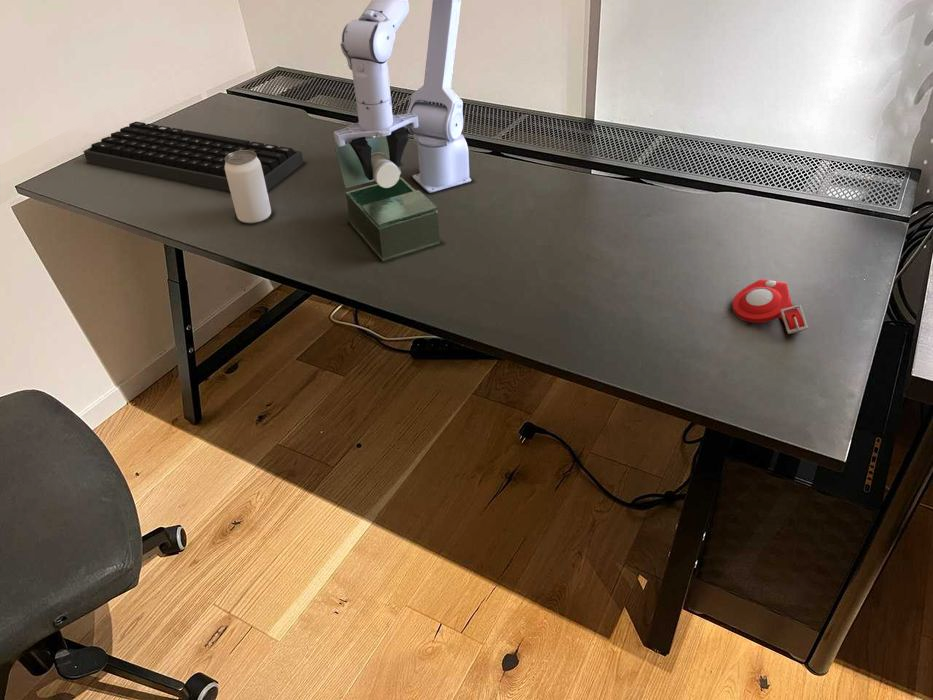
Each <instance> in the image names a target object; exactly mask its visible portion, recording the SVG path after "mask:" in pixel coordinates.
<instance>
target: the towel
mask: <svg viewBox="0 0 933 700" xmlns="http://www.w3.org/2000/svg"><path fill="white" fill-rule="evenodd" d="M371 164H372V170H373V179H374V180H375V181H374V183H375V184H378V185H380V186H381V187H383V188H389V187H392V186H394V185H395V184H396V183H397V181H398V180H399V178H400V177H401V174H400V172H399V169H398V167H397V166H396V165H395V164H394V163H393V162H391V161H390V160H389V159H388V158H387V157H386V156H385V155H384V154H382V153H380V152H375V153H372V154H371Z"/></svg>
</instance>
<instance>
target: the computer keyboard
mask: <svg viewBox="0 0 933 700" xmlns="http://www.w3.org/2000/svg"><path fill="white" fill-rule="evenodd" d="M90 145H91V147H89V148H87V149H85V150H83V154H84V157H85V159H86V161H87V164H92V165H96V166H102V167H106V168H110V169H111V168H112V169H117V170H121V171H126V172H131V173H136V174H142V175H147V176H151V177H157V178H161V179H166V180H171V181H175V182H179V183H185V184H191V185H195V186H200V187H204V188H205V187H206V188H210V189H215V190H221V191H226V192H230V188H229V184H228V180H227V176H226V172H225V162H226V161H225V157H226V156H227V155H228V154H230V153H232V152H235V151H240V150H250V151H253V152H255V153H256V155H257V158H258V159H259V160H260V163H261V166H262V171H263V175H264V180H265V184H266V189H267V192H268V191H270V189H272V188H273V187H274V186H276V185H277V184H278V183H280V182H282V180H284V179H285V178H286V177H288V176H290V174H291V173H293V172H294V171H296V170H297V169H298V168H299V167H301V166H303V164H304V158H303V153H302V151H301V150H295V149H294V148H292V147H287V146H286V147H285V146H278V145H275V144H269V143H266V144H265V143H263V142H258V141H250V140H246V139H242V138H241V139H240V138H235V137H229V136H223V135H217V134H211V133H205V132H200V131H194V130H187V129H185V130H184V129H182V128H177V127H172V128H171V127H170V126H165V125H158V124H153V123H146V122H142V121H133V122H130V123H129V124H128V125H127V126H125V127H124V126H123V127H121V128H119V131H115V132H112V133H110V136H109V135H108V136H106V137H103V138H101V139H100V141H97V142H95V143H92V144H90Z"/></svg>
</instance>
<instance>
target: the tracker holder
mask: <svg viewBox="0 0 933 700" xmlns="http://www.w3.org/2000/svg"><path fill="white" fill-rule="evenodd" d="M789 291H790V290H789V287H788V283H787V282H784V281H778V280H771V279H764V278H760V279H758V280H756V281H754V282H752V283H751V284H749V285H747V286H746V287H744V288H743V289H742V290H740V291H738V292H737V293H736V294H735V296H734V297H733V300H732V311H733V313H734V315H735V316H736V317H737V318H738V319H740V320H743V321H744V322H748V323H752V324H753V323H754V324H755V323H756V324H759V323H766V322H770V321H774V320H776V319H778V318H779V319H781V320H782V322H783V325H784V326H785V327H784V328H785V329H786V332H787V334H788V335H790V334H796V333H799V332H802V331H805V330H808V329H809V325H808V323H807V320H806V317H805V313H804V311H803V308H802V305H801V304H796V305H793V302H792V300H791V295H790V292H789Z"/></svg>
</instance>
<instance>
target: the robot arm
mask: <svg viewBox="0 0 933 700" xmlns="http://www.w3.org/2000/svg"><path fill="white" fill-rule="evenodd" d="M431 4H432V5H431V13H430V23H429V30H428V32H429V33H428V34H429V35H428V42H427V50H426V59H425V69H424V76H423V77H424V79H423V85H422V86H421V87H419V88H418V89H416V90H415V91H414V92H413V93H412V94H411V95H410V101H409V106H408V108H407V111H406V113H403V114H402V113H401V114H393V106H392V95H391V94H392V93H391V87H390V84H391V83H390V75H389V65H388V59H389V58H390V57H391V55H392V53H393V49H394V42H395V40H396V37H397V34H396V33H397V31H398V29H399V28H400V27H401V25H402V23H403V22H404V20H405V19H406V18H407V16H408V15H409V12H410V3H409V0H370V2H369V3H368V5H367V6H366V7H365V9H364V11H362V13H361V15H360V16H359V18H358V19H352V20H350V21H349V22H348V23H347V24H345V25H344V27H343V29H342V32H341V42H340V49H341V52H342V54H343V56H344V57H345V58H346V61H347V67H348V68H349V70H350V71H352V80H353V87H354V95H355V101H356V102H355V103H356V111H357V119H358V122H355V123H353V124H351V125H349V126H346V127H344V128H342V129H338V130H334V131H333V135H334V142H335V144H336V145H337V146H344V145H345V144H350V145H351V147H352V148H353V150H354V151H355V153H356V155H357V156H358V158H359V160H360V163H361V165H362V167H363V170H364V173H365V176H366V177H367V178H368V179H369V180H373V170H372V164H371V151H372V147H371V146H370V145H369V144H368V141H366V139H369V137H373V136H380V137H384V136H386V138H387V143H388V148H389V158H390V161H391V162H393V163H394V164H395V165H396V166H397V167H398V169H400V170H401V162H402V157H403V154H404V151H405V148H406V146H407V144H408V142H409V141H410V135H409V134H411V135H413V141H416V142H417V155H418V168H419V173H416V174H413V175H412V179H413V180H414V181H416V183H418V184H419V185H420V186H421V187H422V188H423V189H424V190H425V191H426V192H427V193H429V194H431V193H432V194H433V193H436V192H439V191H442V190H445V189H449V188H452V187H456V186H460V185H464V184H467V183H470V182H472V178H471V177H470V157H469V147H468V142H467V140H466V138H465V136H464V134H463V133H462V132H463V128H464V114H463V112H464V111H463V110H464V109H463V107H464V102H463V100H462V99H461V98H460V97H459V96H458V95H457V93H456V92H455V91H454V90H453V88H452V83H453V82H452V81H453V72H454V65H455V64H454V63H455V56H456V48H457V41H458V39H457V38H458V32H459V23H460V14H461V7H462V0H432V3H431ZM429 102H431V103H429ZM435 103H436V104H435ZM437 103H438V104H437ZM441 104H443V105H441ZM406 129H407V130H406ZM407 131H408V132H407Z"/></svg>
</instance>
